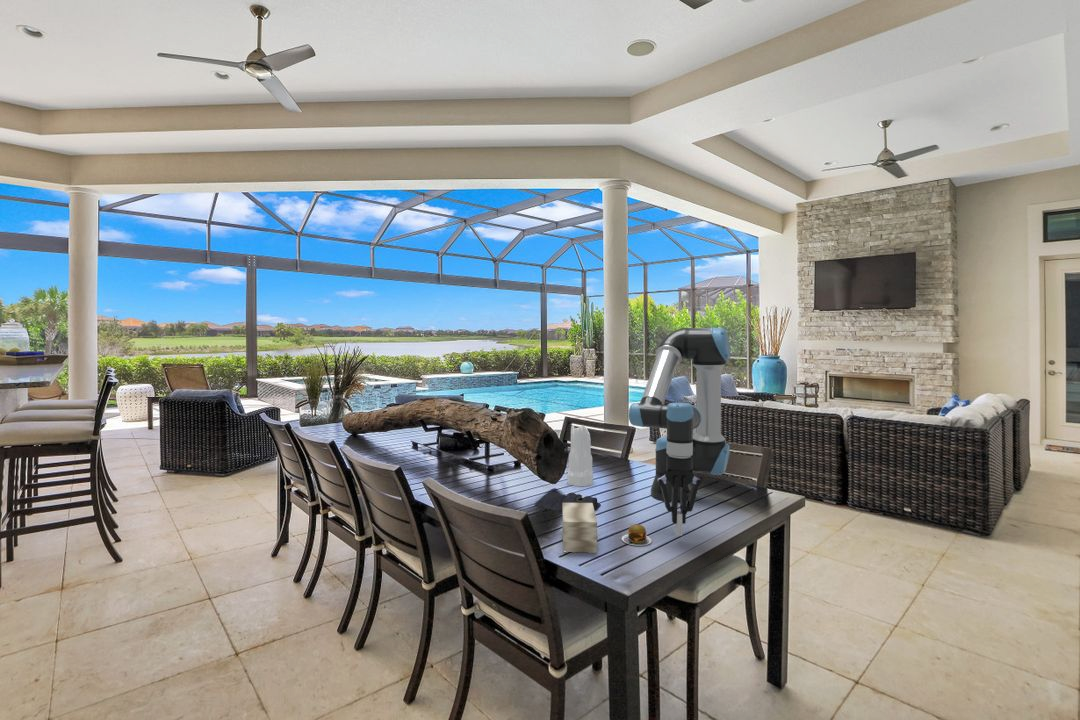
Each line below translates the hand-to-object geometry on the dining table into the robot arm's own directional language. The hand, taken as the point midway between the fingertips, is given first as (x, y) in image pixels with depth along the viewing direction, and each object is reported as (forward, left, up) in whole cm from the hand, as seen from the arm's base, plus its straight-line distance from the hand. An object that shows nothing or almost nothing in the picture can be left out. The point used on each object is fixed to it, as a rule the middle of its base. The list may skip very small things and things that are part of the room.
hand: (678, 533), depth 151 cm
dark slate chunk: (+32, -32, -3) cm, 46 cm away
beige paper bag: (+30, 0, -2) cm, 30 cm away
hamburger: (+12, -1, -3) cm, 13 cm away
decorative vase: (+26, -62, -3) cm, 67 cm away
